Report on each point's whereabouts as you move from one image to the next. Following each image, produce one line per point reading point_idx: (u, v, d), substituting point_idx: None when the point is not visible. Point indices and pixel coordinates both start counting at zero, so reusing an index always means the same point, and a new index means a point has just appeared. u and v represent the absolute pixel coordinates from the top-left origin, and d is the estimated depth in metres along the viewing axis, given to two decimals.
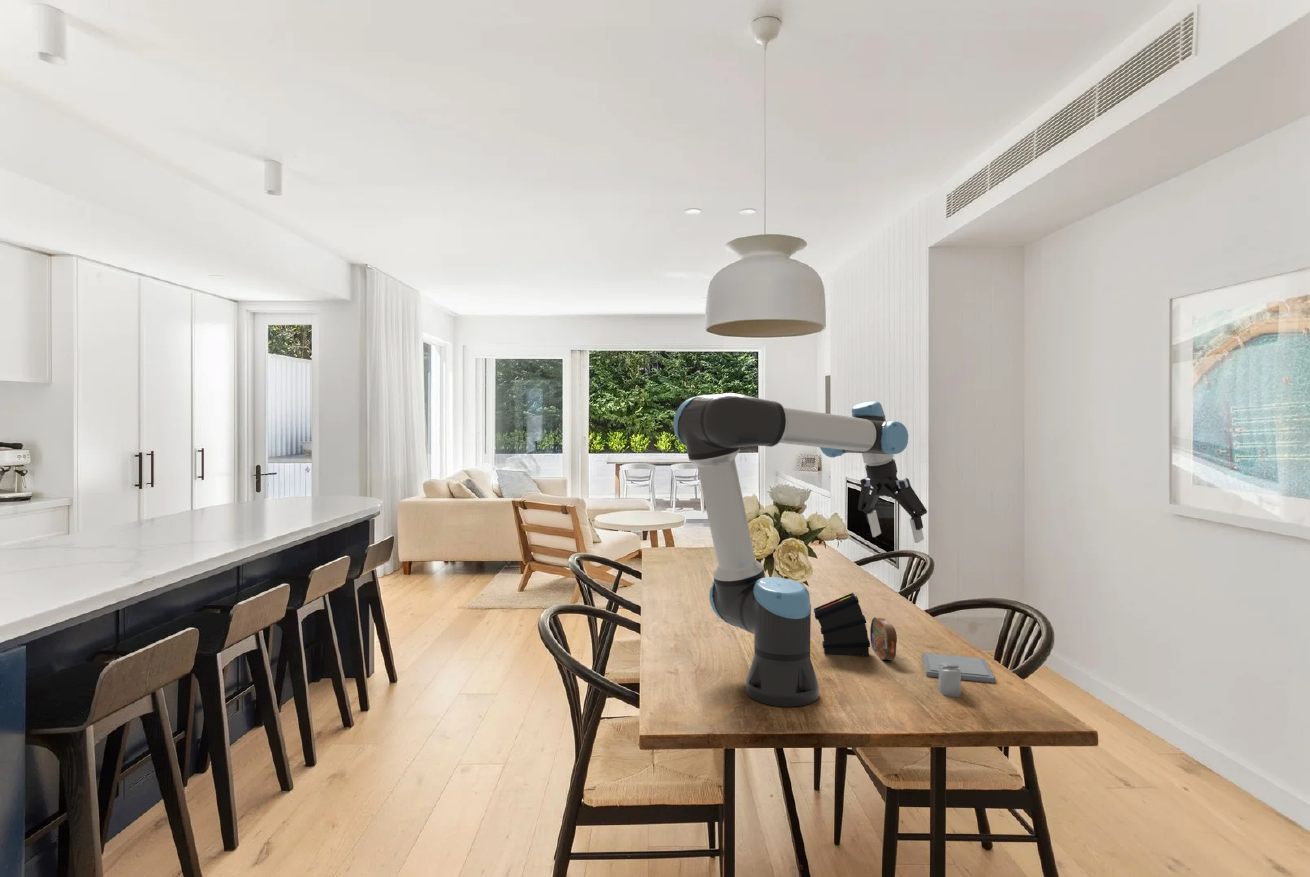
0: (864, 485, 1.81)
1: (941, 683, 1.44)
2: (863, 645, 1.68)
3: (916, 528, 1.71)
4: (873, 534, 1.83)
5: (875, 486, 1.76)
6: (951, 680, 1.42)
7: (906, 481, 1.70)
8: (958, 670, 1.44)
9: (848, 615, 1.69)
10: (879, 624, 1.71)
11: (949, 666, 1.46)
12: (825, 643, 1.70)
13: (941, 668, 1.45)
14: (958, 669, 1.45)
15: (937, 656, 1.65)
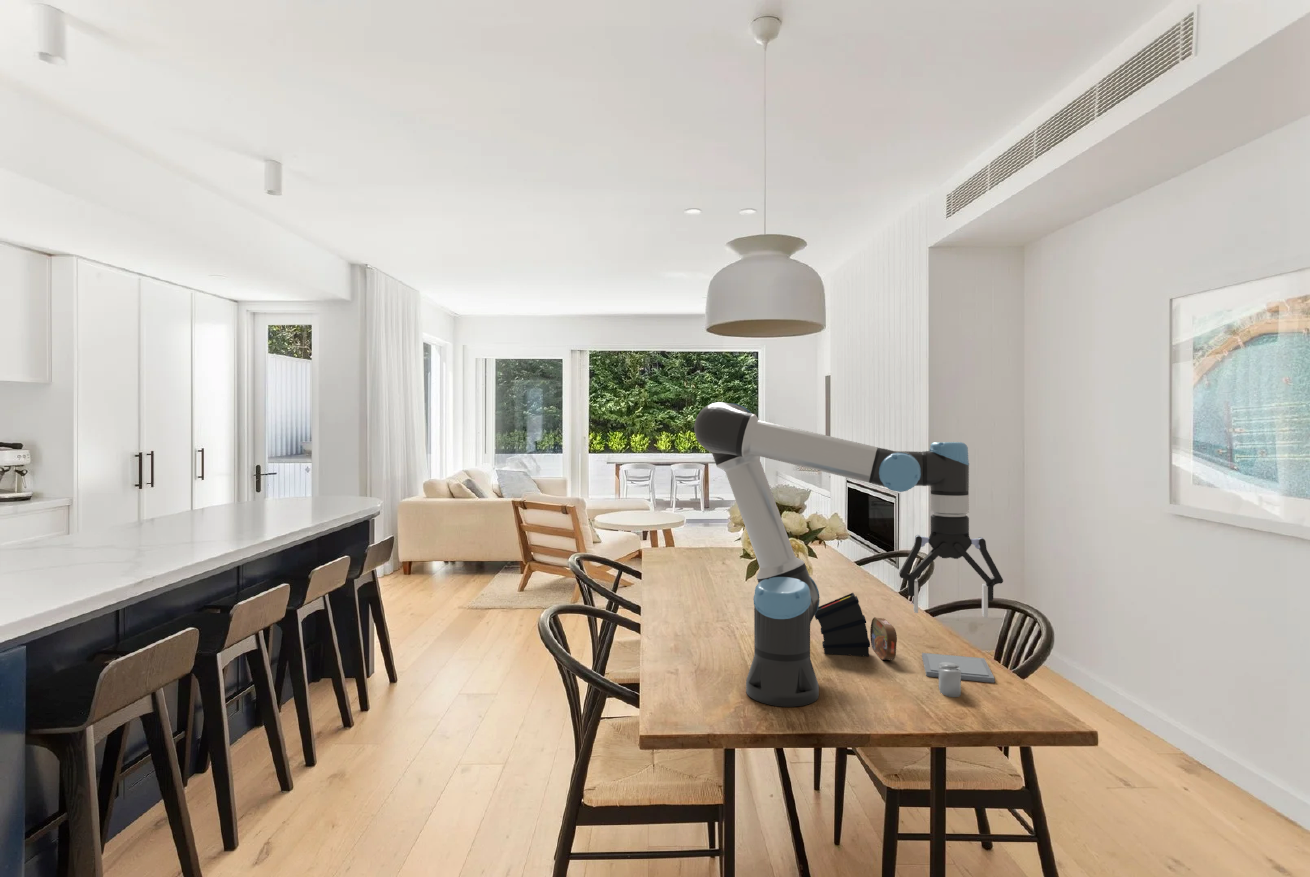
0: (921, 544, 1.46)
1: (941, 683, 1.44)
2: (863, 645, 1.68)
3: (988, 599, 1.43)
4: (916, 609, 1.46)
5: (943, 544, 1.44)
6: (951, 680, 1.42)
7: None
8: (958, 670, 1.44)
9: (848, 615, 1.69)
10: (879, 624, 1.71)
11: (949, 666, 1.46)
12: (825, 643, 1.70)
13: (941, 668, 1.45)
14: (958, 669, 1.45)
15: (937, 656, 1.65)
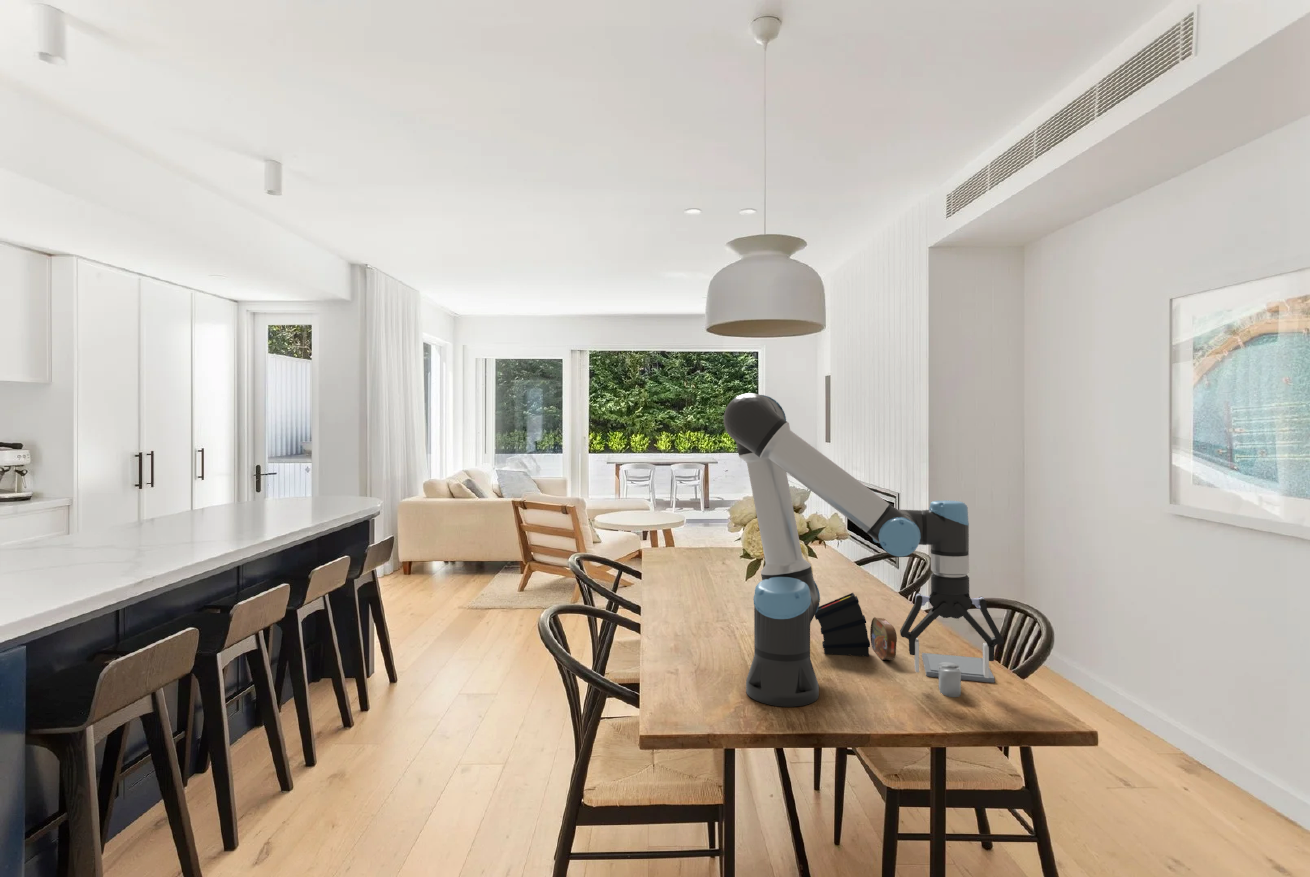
0: (921, 603, 1.46)
1: (941, 683, 1.44)
2: (863, 645, 1.68)
3: (989, 659, 1.43)
4: (917, 668, 1.46)
5: (943, 604, 1.44)
6: (951, 680, 1.42)
7: None
8: (958, 670, 1.44)
9: (848, 615, 1.69)
10: (879, 624, 1.71)
11: (949, 666, 1.46)
12: (825, 643, 1.70)
13: (941, 668, 1.45)
14: (958, 669, 1.45)
15: (937, 656, 1.65)
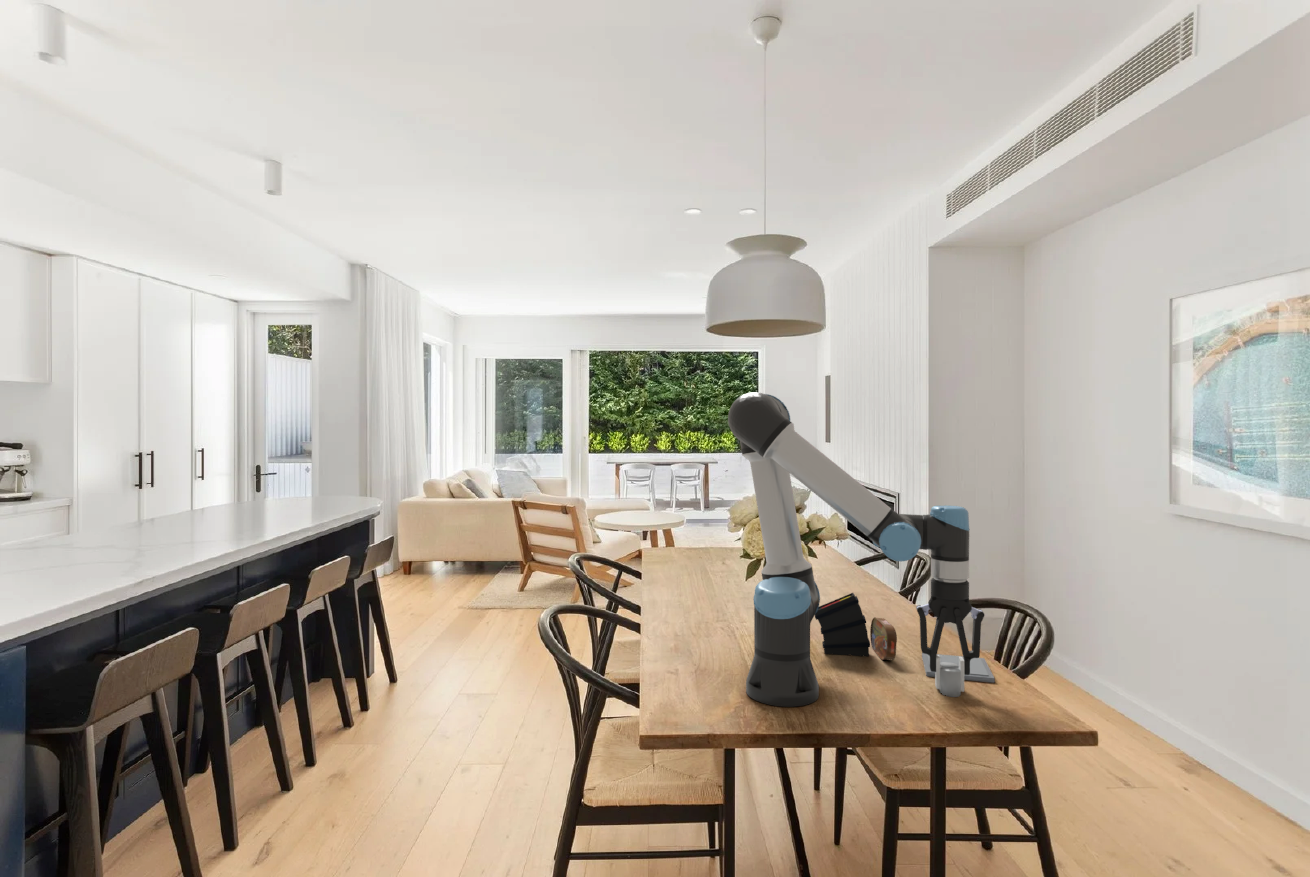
0: (924, 614, 1.46)
1: (941, 683, 1.44)
2: (863, 645, 1.68)
3: (965, 673, 1.44)
4: (938, 685, 1.45)
5: (943, 610, 1.44)
6: (951, 680, 1.42)
7: None
8: (958, 670, 1.44)
9: (848, 615, 1.69)
10: (879, 624, 1.71)
11: (949, 666, 1.46)
12: (825, 643, 1.70)
13: (941, 668, 1.45)
14: (958, 669, 1.45)
15: None
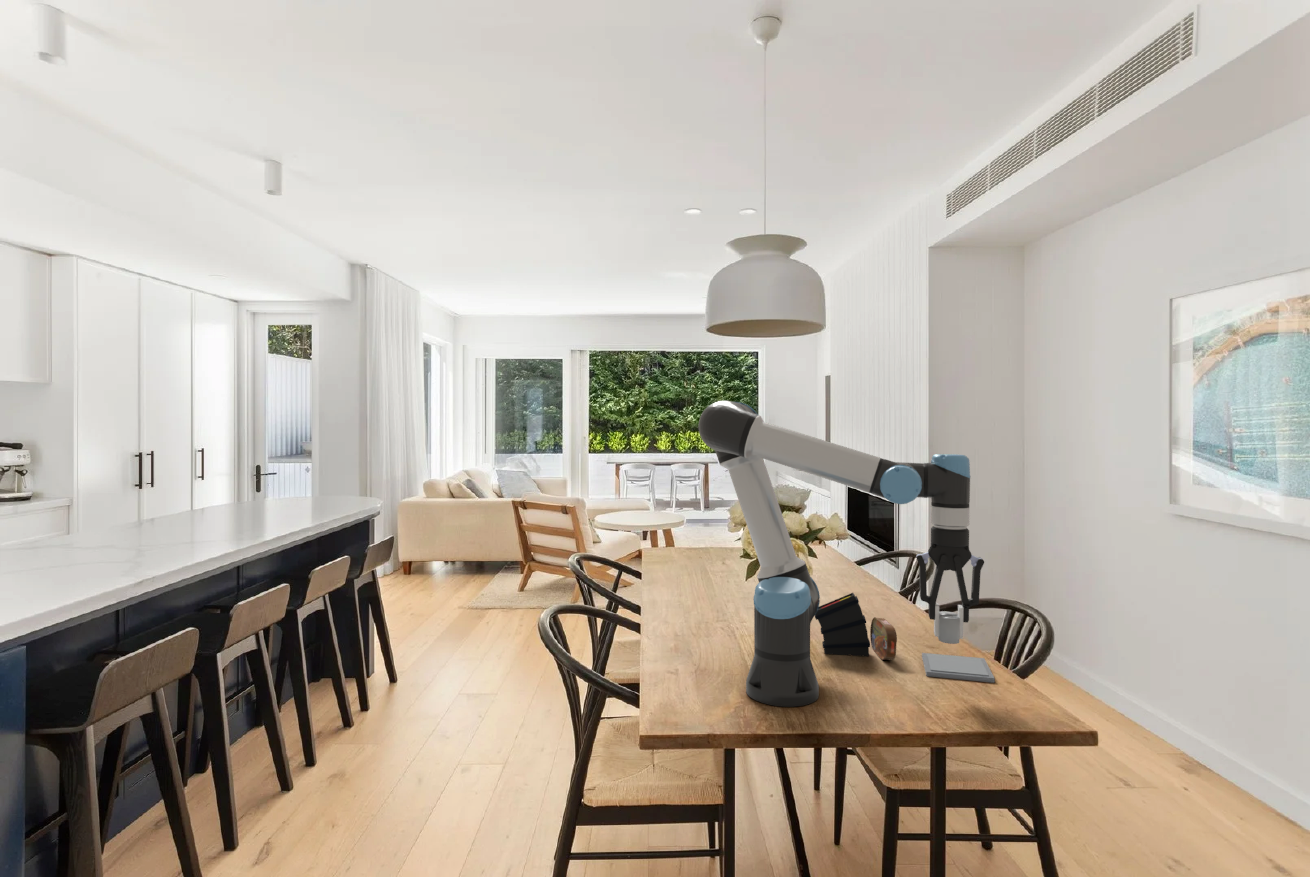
0: (924, 562, 1.46)
1: (940, 630, 1.44)
2: (863, 645, 1.68)
3: (964, 620, 1.44)
4: (937, 633, 1.45)
5: (943, 557, 1.44)
6: (949, 627, 1.42)
7: None
8: (957, 618, 1.44)
9: (848, 615, 1.69)
10: (879, 624, 1.71)
11: (948, 614, 1.46)
12: (825, 643, 1.70)
13: (940, 616, 1.45)
14: (957, 617, 1.45)
15: (937, 656, 1.65)
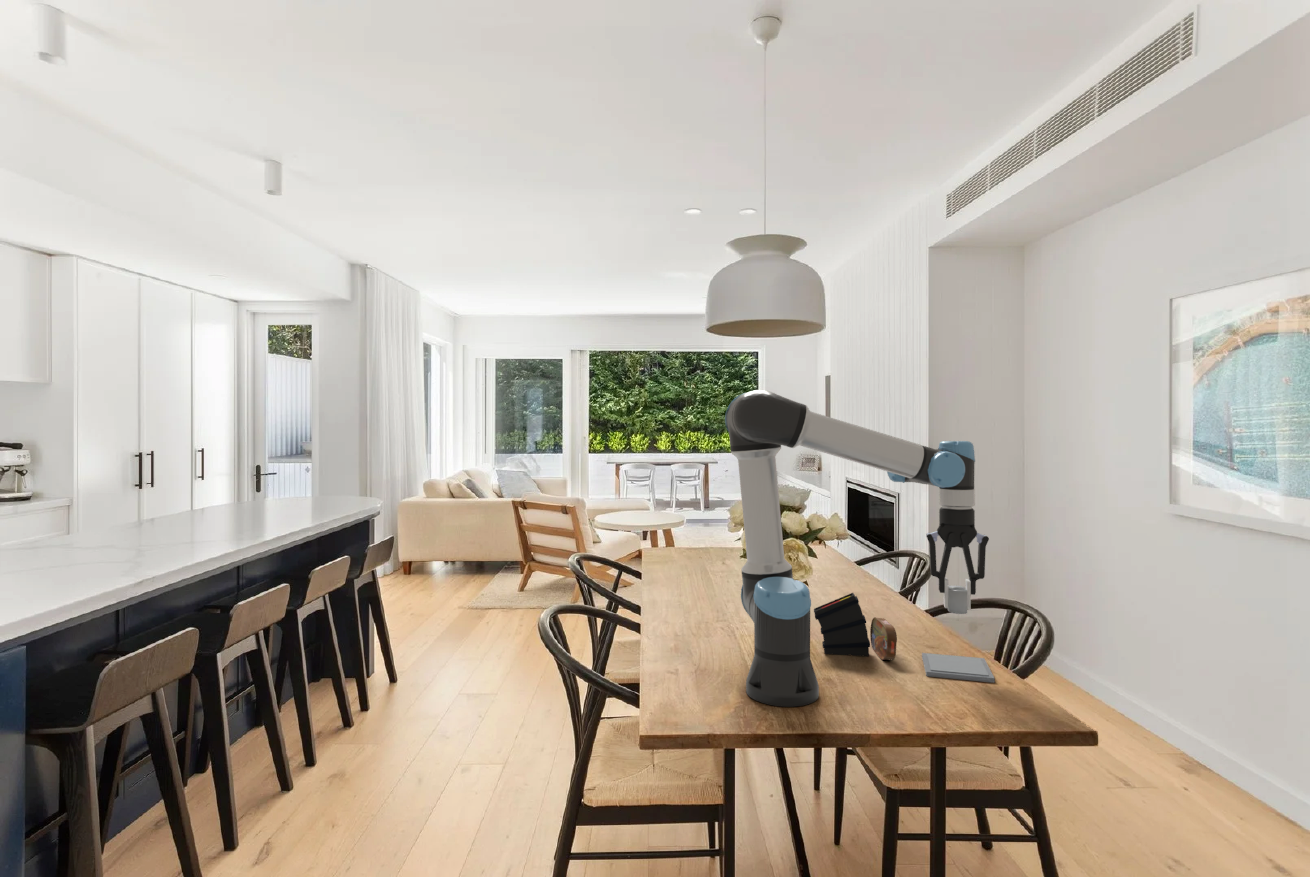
0: (933, 540, 1.59)
1: (949, 602, 1.57)
2: (863, 645, 1.68)
3: (971, 592, 1.57)
4: (947, 605, 1.58)
5: (950, 535, 1.57)
6: (958, 598, 1.56)
7: None
8: (965, 590, 1.57)
9: (848, 615, 1.69)
10: (879, 624, 1.71)
11: (956, 588, 1.59)
12: (825, 643, 1.70)
13: (949, 589, 1.58)
14: (965, 589, 1.58)
15: (937, 656, 1.65)
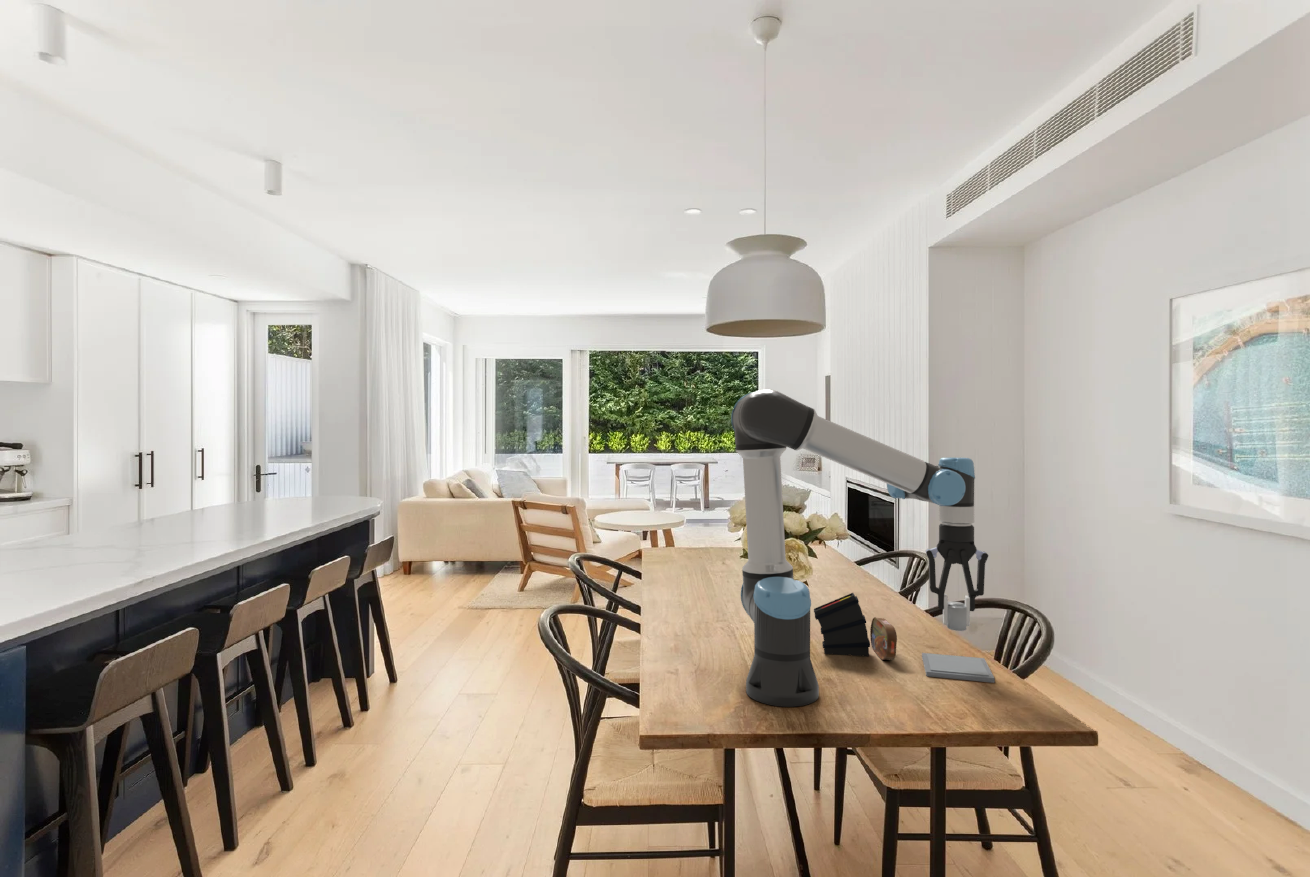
0: (933, 556, 1.59)
1: (948, 619, 1.57)
2: (863, 645, 1.68)
3: (970, 609, 1.58)
4: (946, 621, 1.59)
5: (950, 552, 1.58)
6: (957, 615, 1.56)
7: None
8: (964, 607, 1.57)
9: (848, 615, 1.69)
10: (879, 624, 1.71)
11: (955, 604, 1.60)
12: (825, 643, 1.70)
13: (948, 605, 1.59)
14: (964, 606, 1.58)
15: (937, 656, 1.65)
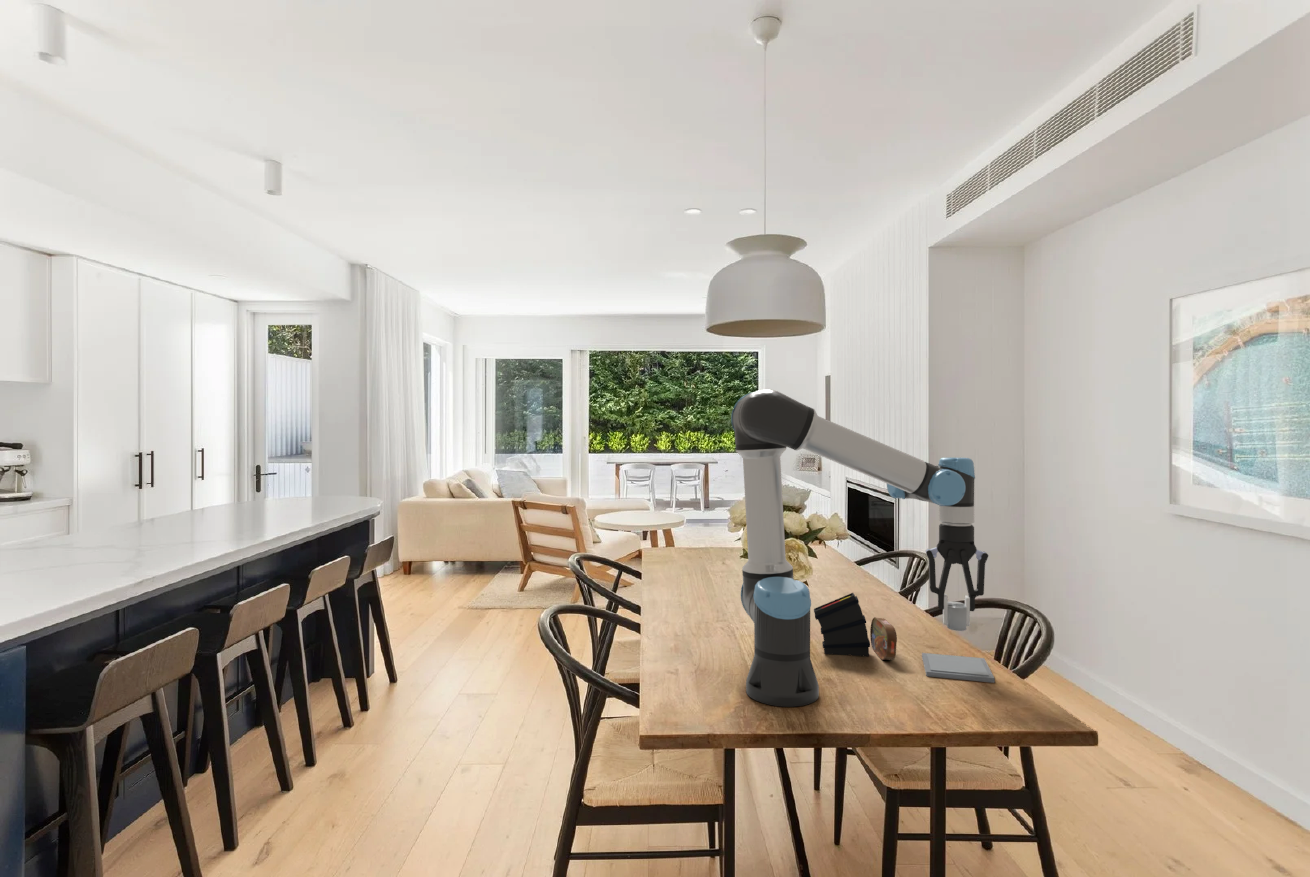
0: (933, 556, 1.59)
1: (948, 619, 1.57)
2: (863, 645, 1.68)
3: (970, 609, 1.58)
4: (946, 621, 1.59)
5: (950, 552, 1.58)
6: (957, 615, 1.56)
7: None
8: (964, 607, 1.57)
9: (848, 615, 1.69)
10: (879, 624, 1.71)
11: (955, 604, 1.60)
12: (825, 643, 1.70)
13: (948, 605, 1.59)
14: (964, 606, 1.58)
15: (937, 656, 1.65)
